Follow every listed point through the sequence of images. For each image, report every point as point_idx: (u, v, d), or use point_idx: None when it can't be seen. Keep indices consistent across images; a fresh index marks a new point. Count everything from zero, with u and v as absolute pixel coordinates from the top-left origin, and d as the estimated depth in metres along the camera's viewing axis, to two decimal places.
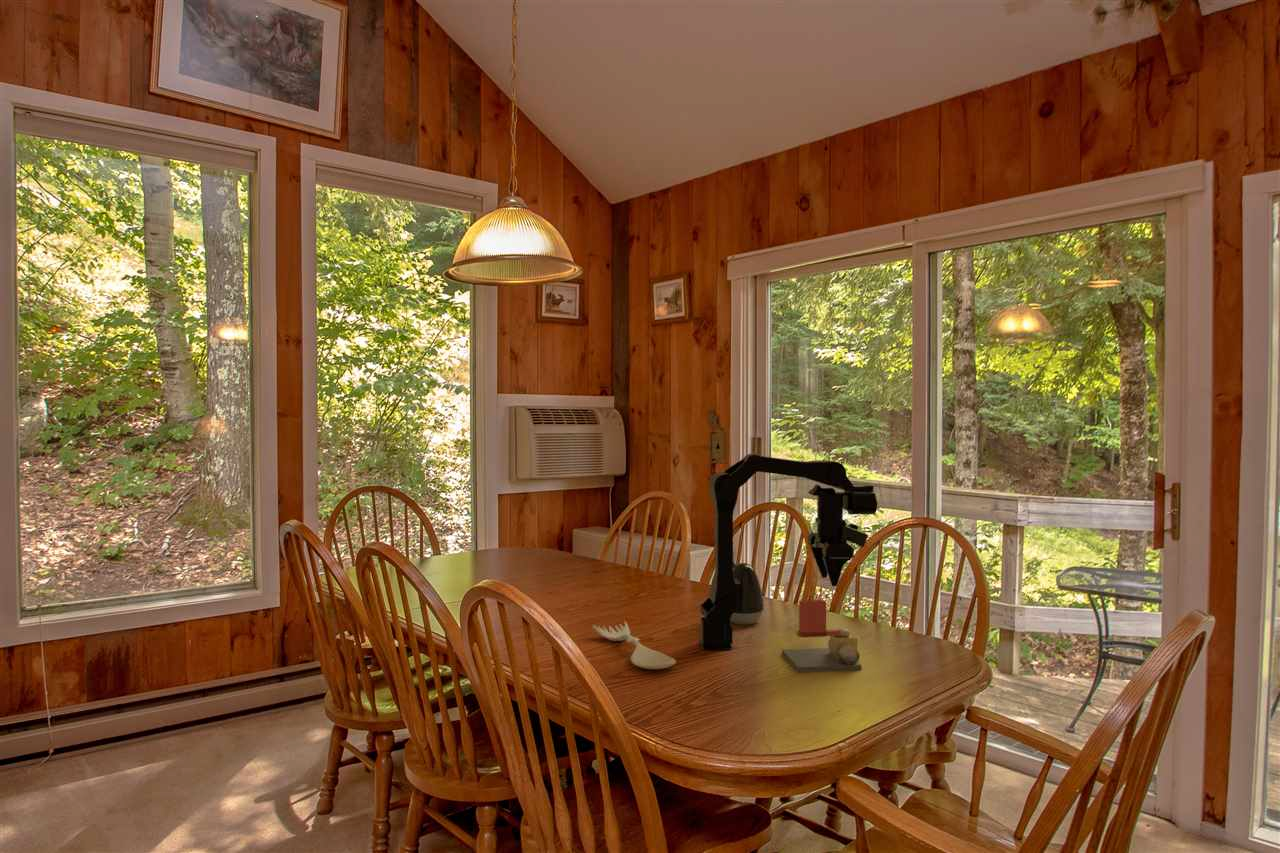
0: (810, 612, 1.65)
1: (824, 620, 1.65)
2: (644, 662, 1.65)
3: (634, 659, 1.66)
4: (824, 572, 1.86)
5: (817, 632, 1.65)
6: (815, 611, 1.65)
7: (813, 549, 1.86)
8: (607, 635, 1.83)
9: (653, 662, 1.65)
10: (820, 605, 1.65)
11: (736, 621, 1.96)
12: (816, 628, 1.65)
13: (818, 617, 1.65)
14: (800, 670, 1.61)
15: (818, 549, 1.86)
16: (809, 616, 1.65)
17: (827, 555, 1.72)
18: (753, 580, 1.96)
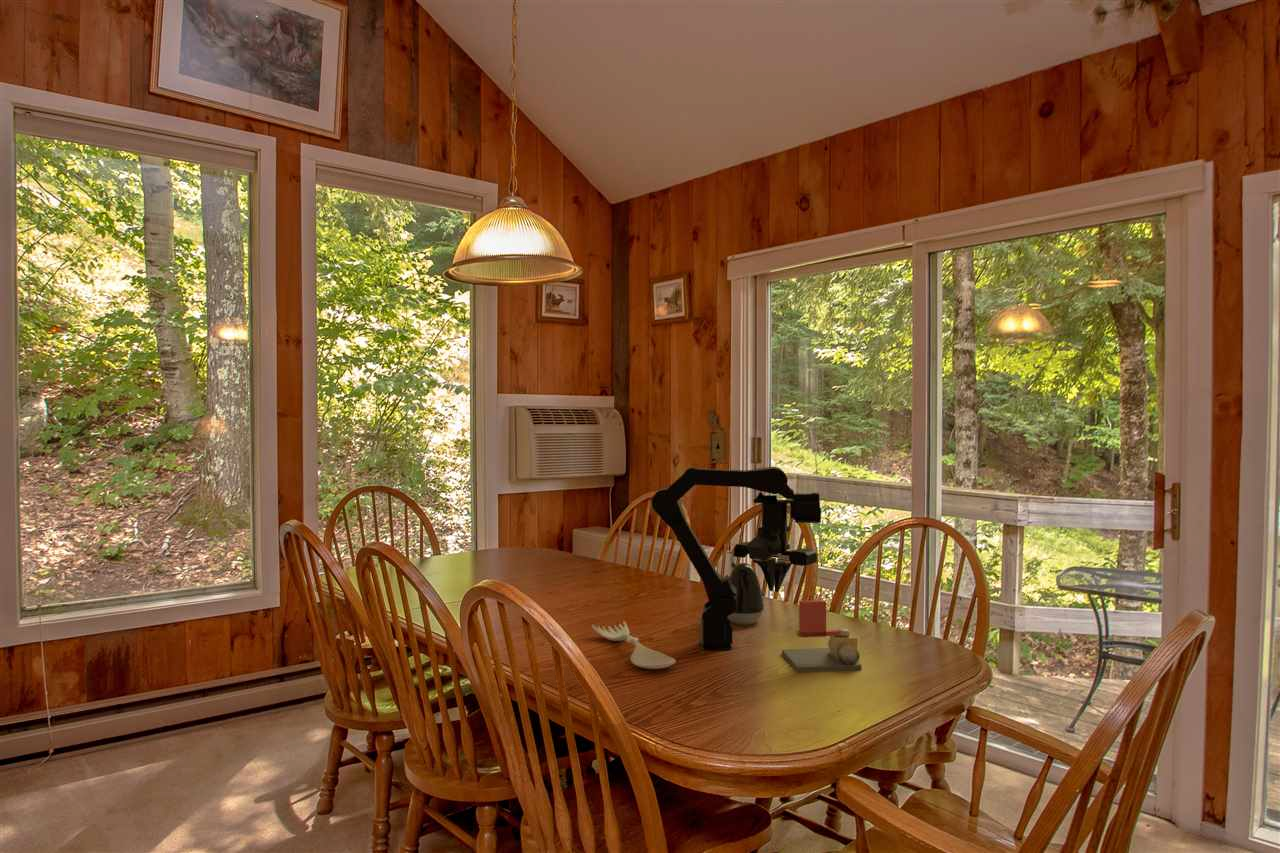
0: (810, 612, 1.65)
1: (824, 620, 1.65)
2: (644, 662, 1.65)
3: (634, 659, 1.66)
4: None
5: (817, 632, 1.65)
6: (815, 611, 1.65)
7: None
8: (606, 635, 1.83)
9: (653, 662, 1.65)
10: (820, 605, 1.65)
11: (736, 621, 1.96)
12: (816, 628, 1.65)
13: (818, 617, 1.65)
14: (800, 670, 1.61)
15: None
16: (809, 616, 1.65)
17: None
18: (753, 580, 1.96)
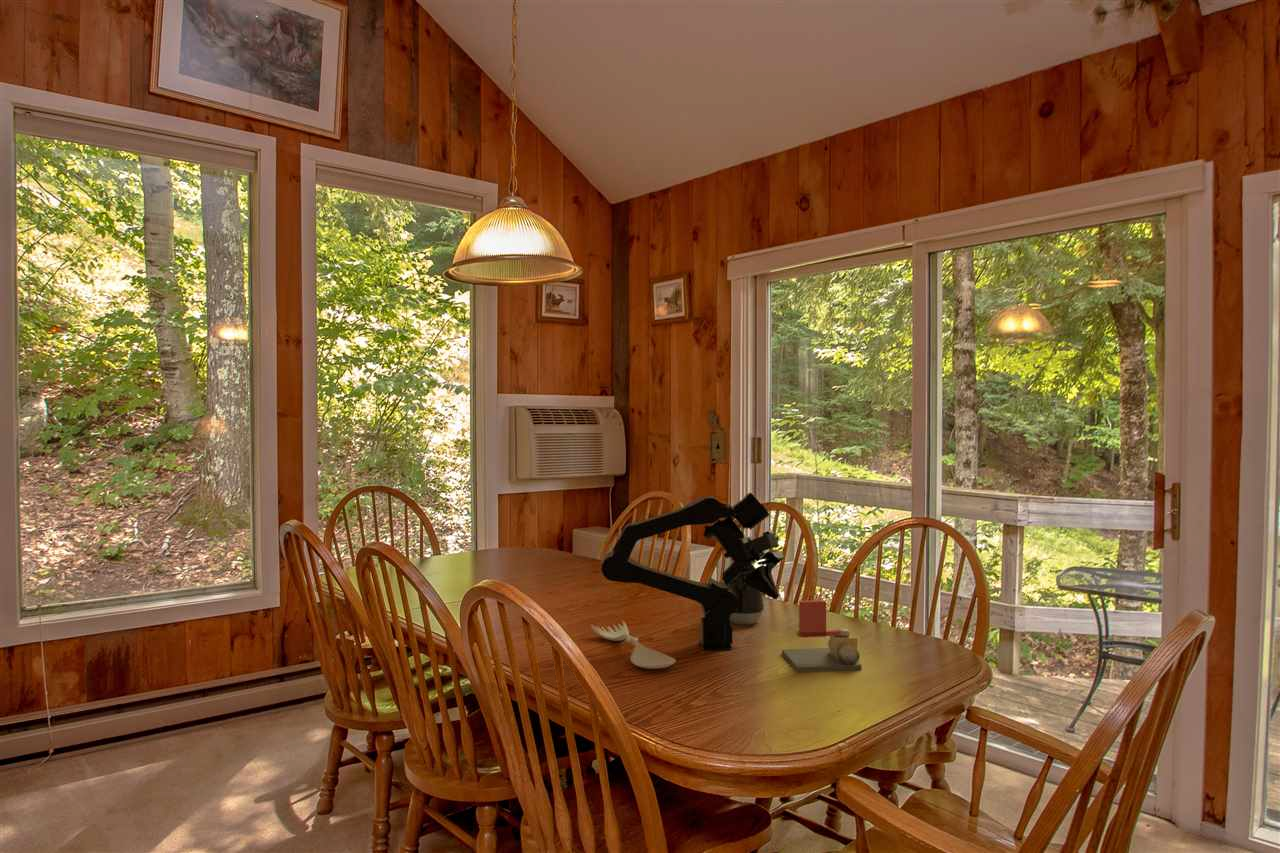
0: (810, 612, 1.65)
1: (824, 620, 1.65)
2: (644, 662, 1.65)
3: (634, 659, 1.66)
4: None
5: (817, 632, 1.65)
6: (815, 611, 1.65)
7: None
8: (606, 635, 1.83)
9: (653, 662, 1.66)
10: (820, 605, 1.65)
11: (736, 621, 1.96)
12: (816, 628, 1.65)
13: (818, 617, 1.65)
14: (800, 670, 1.61)
15: None
16: (809, 616, 1.65)
17: (726, 584, 1.68)
18: None
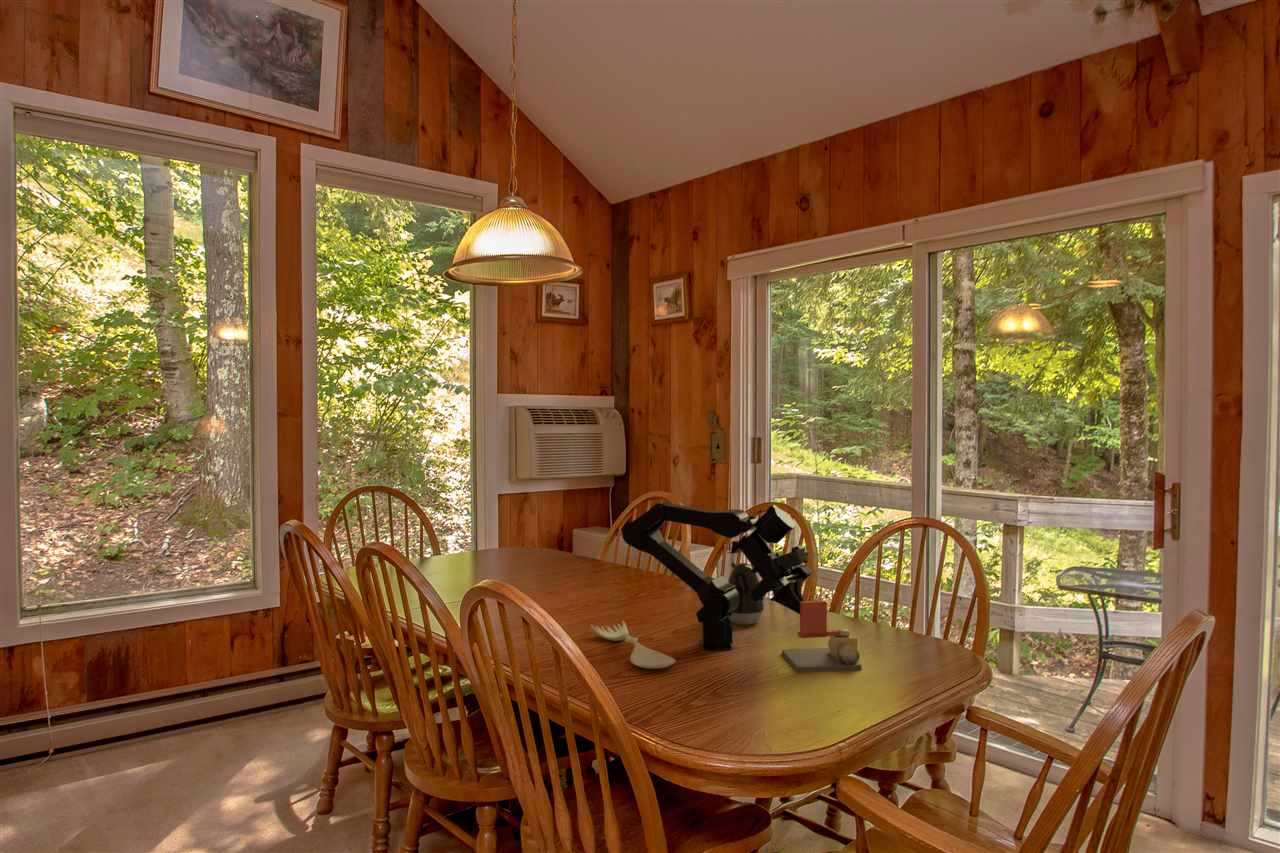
0: (811, 613, 1.65)
1: (825, 620, 1.65)
2: (643, 662, 1.65)
3: (633, 659, 1.66)
4: None
5: (818, 632, 1.65)
6: (816, 611, 1.65)
7: None
8: (605, 635, 1.83)
9: (652, 662, 1.66)
10: (821, 606, 1.65)
11: (736, 621, 1.96)
12: (817, 629, 1.65)
13: (819, 618, 1.65)
14: (800, 670, 1.61)
15: None
16: (810, 617, 1.65)
17: (754, 601, 1.64)
18: (753, 580, 1.96)
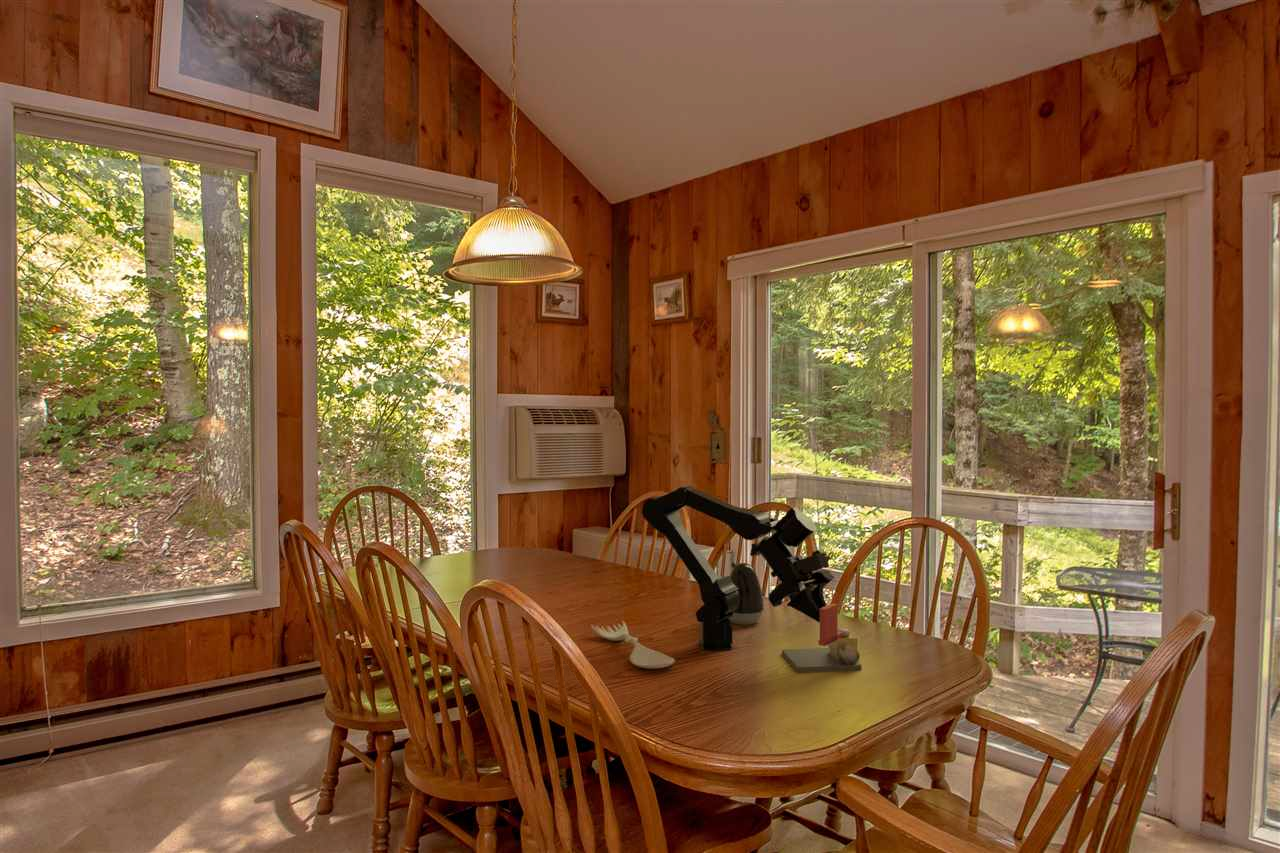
0: (829, 618, 1.60)
1: (836, 623, 1.63)
2: (643, 661, 1.65)
3: (633, 658, 1.66)
4: None
5: (833, 637, 1.62)
6: (832, 616, 1.61)
7: None
8: (605, 635, 1.83)
9: (652, 661, 1.66)
10: (834, 609, 1.62)
11: (736, 621, 1.96)
12: (832, 633, 1.61)
13: (833, 622, 1.62)
14: (800, 670, 1.61)
15: None
16: (829, 622, 1.60)
17: None
18: (753, 580, 1.96)
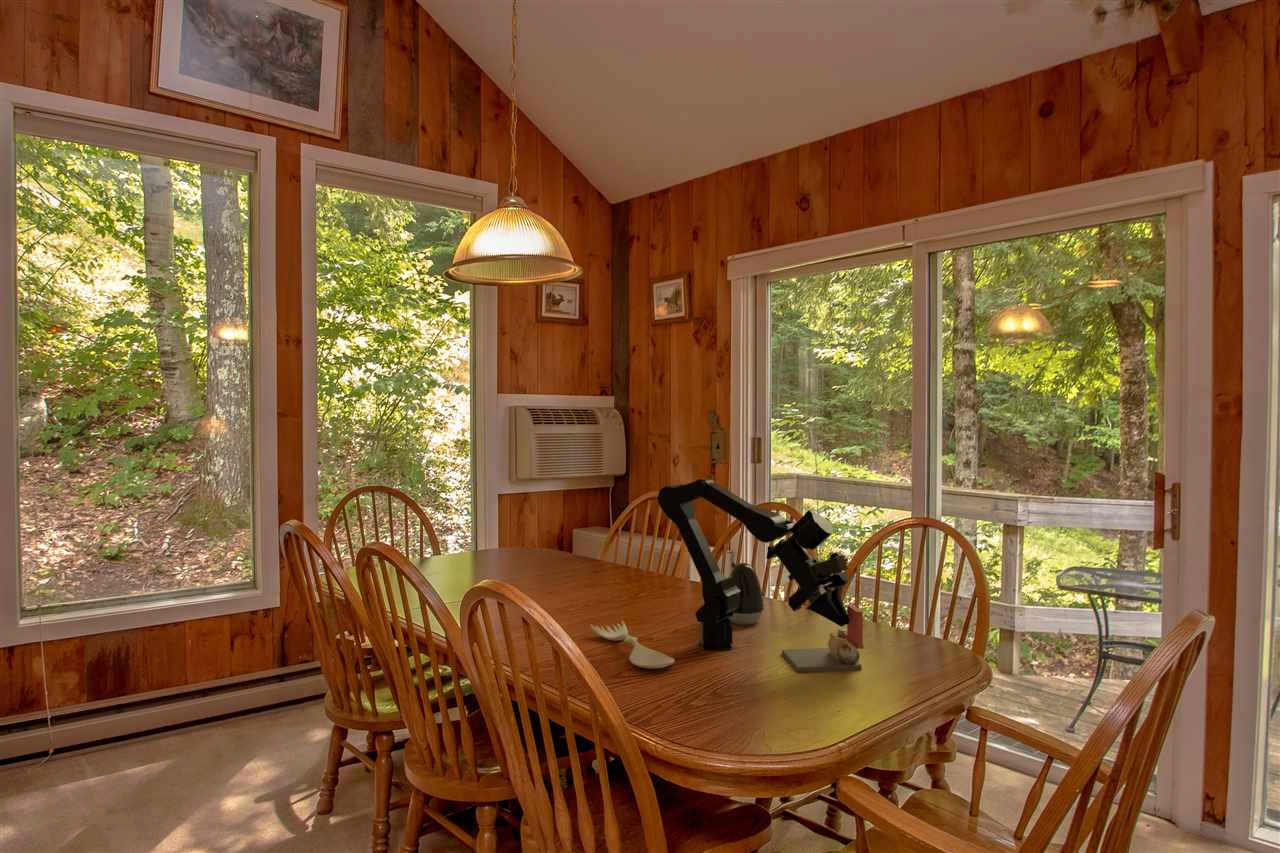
0: None
1: None
2: (643, 661, 1.65)
3: (633, 658, 1.66)
4: (843, 619, 1.62)
5: None
6: None
7: None
8: (605, 635, 1.83)
9: (652, 661, 1.66)
10: None
11: (736, 621, 1.96)
12: None
13: None
14: (800, 670, 1.61)
15: None
16: None
17: (792, 609, 1.58)
18: (753, 580, 1.96)
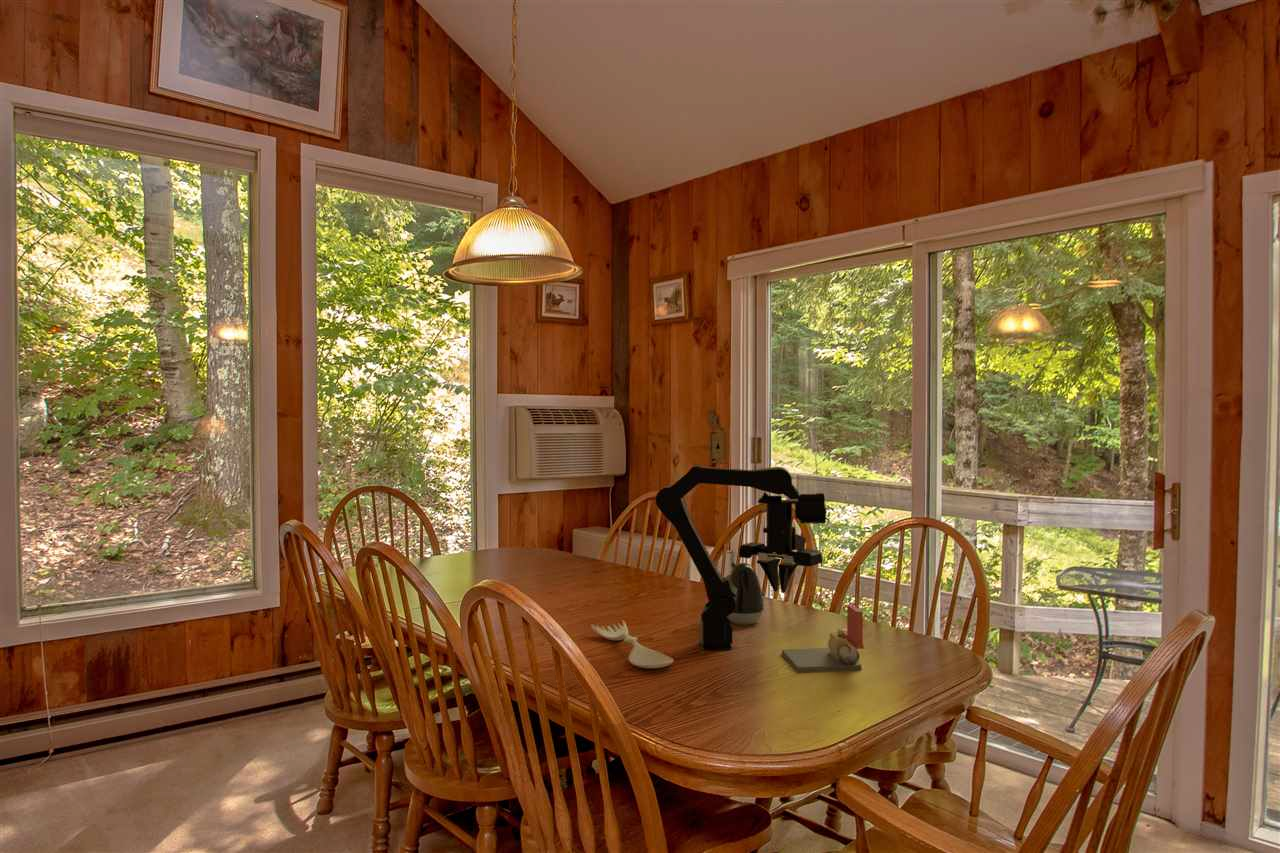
0: None
1: None
2: (642, 661, 1.65)
3: (632, 658, 1.66)
4: (776, 586, 1.77)
5: None
6: None
7: (767, 563, 1.75)
8: (605, 634, 1.84)
9: (651, 661, 1.66)
10: None
11: (736, 621, 1.96)
12: None
13: None
14: (800, 670, 1.61)
15: (770, 563, 1.76)
16: None
17: (808, 564, 1.68)
18: (753, 580, 1.96)
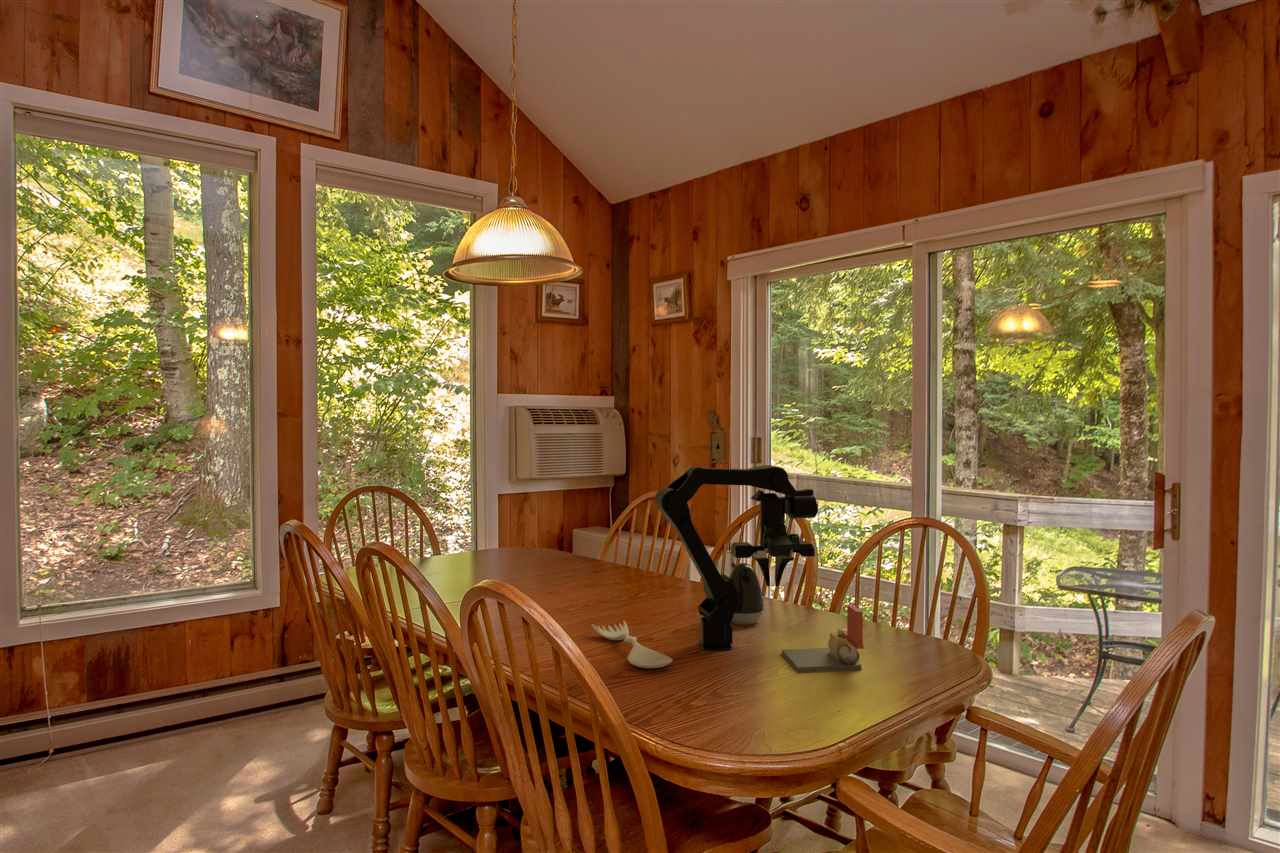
0: None
1: None
2: (641, 661, 1.66)
3: (631, 658, 1.66)
4: (775, 581, 1.82)
5: None
6: None
7: None
8: (606, 634, 1.84)
9: (650, 661, 1.66)
10: None
11: (736, 621, 1.96)
12: None
13: None
14: (800, 670, 1.61)
15: (777, 556, 1.83)
16: None
17: None
18: (753, 580, 1.96)
